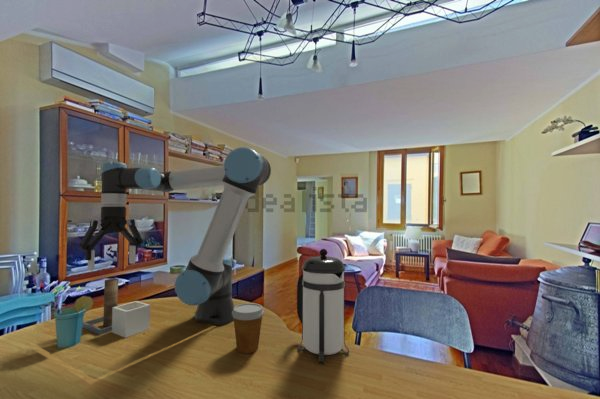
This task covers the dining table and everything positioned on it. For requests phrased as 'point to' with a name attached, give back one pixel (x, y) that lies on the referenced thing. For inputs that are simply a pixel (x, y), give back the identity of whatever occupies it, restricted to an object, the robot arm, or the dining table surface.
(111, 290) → the dowel
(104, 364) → the dining table surface
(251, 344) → the disposable coffee cup
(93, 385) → the dining table surface
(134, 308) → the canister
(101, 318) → the tray
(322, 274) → the coffee press
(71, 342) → the cup
